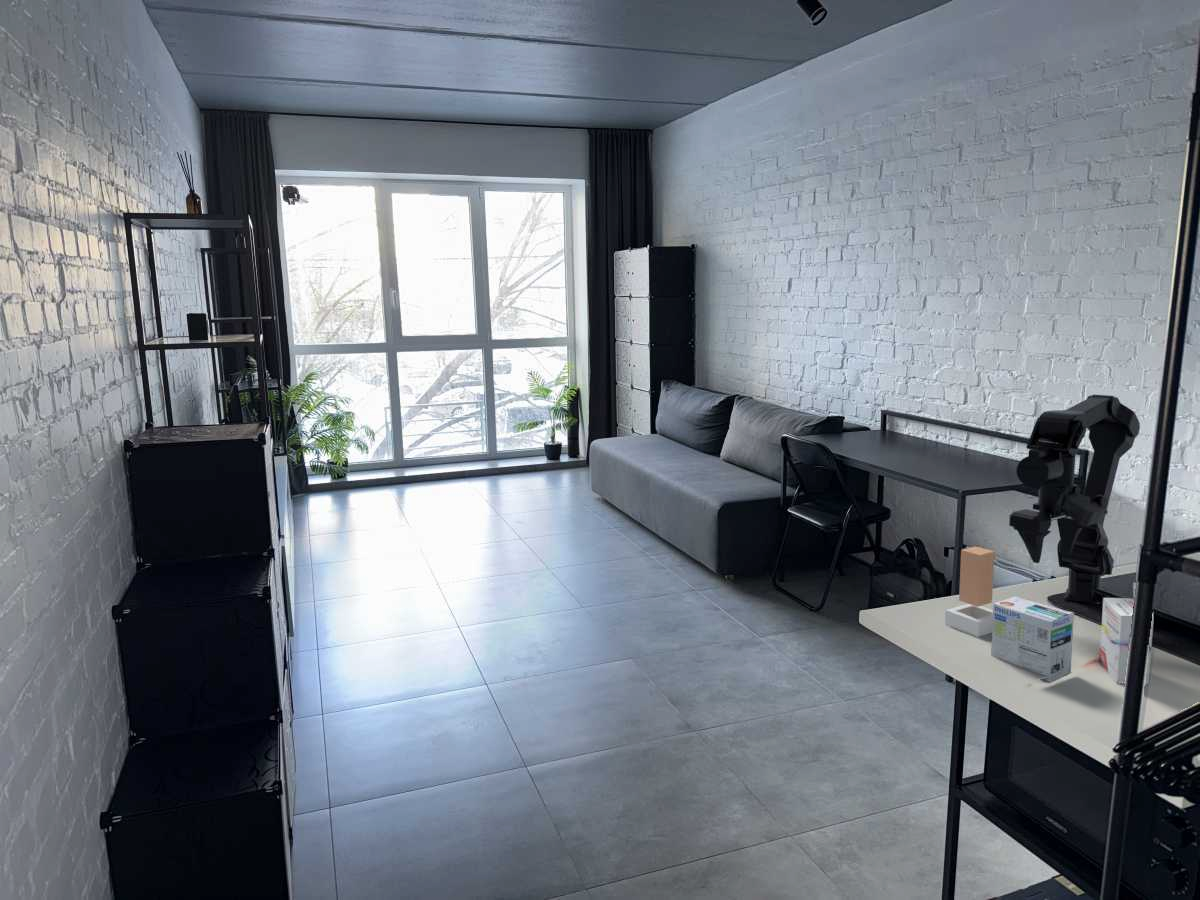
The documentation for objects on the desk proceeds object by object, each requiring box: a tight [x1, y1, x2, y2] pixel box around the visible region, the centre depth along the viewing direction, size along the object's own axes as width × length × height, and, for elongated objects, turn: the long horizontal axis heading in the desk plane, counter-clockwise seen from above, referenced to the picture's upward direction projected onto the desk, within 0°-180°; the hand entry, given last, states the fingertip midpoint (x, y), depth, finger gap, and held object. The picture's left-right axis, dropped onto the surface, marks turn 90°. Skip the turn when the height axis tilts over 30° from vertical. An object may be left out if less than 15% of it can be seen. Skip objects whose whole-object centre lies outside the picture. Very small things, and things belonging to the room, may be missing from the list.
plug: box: [958, 546, 996, 607], centre depth 158 cm, size 4×4×10 cm
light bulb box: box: [990, 595, 1075, 684], centre depth 144 cm, size 11×7×11 cm, turn 32°
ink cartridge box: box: [1098, 581, 1155, 686], centre depth 140 cm, size 9×5×15 cm, turn 168°
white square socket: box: [944, 603, 993, 638], centre depth 160 cm, size 7×7×3 cm
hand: (1051, 558), depth 164 cm, fingers open, 9 cm apart
